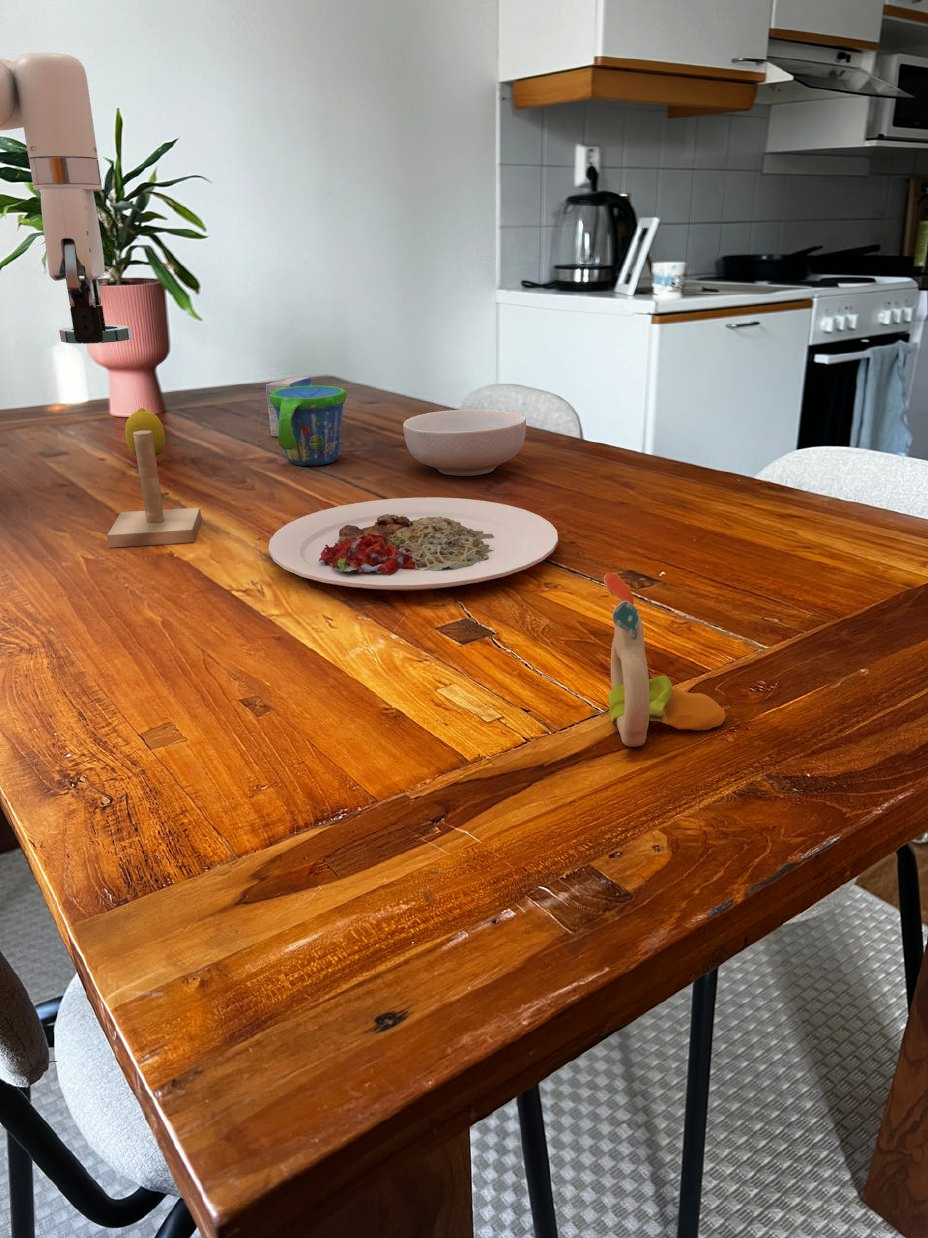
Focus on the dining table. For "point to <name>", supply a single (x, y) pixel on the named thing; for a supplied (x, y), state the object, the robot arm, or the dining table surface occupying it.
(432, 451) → the cereal bowl
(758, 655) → the dining table surface
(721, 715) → the rattle
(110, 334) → the ring
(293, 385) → the medicine box
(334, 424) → the snack cup
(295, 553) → the plated food
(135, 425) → the lemon
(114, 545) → the stand
